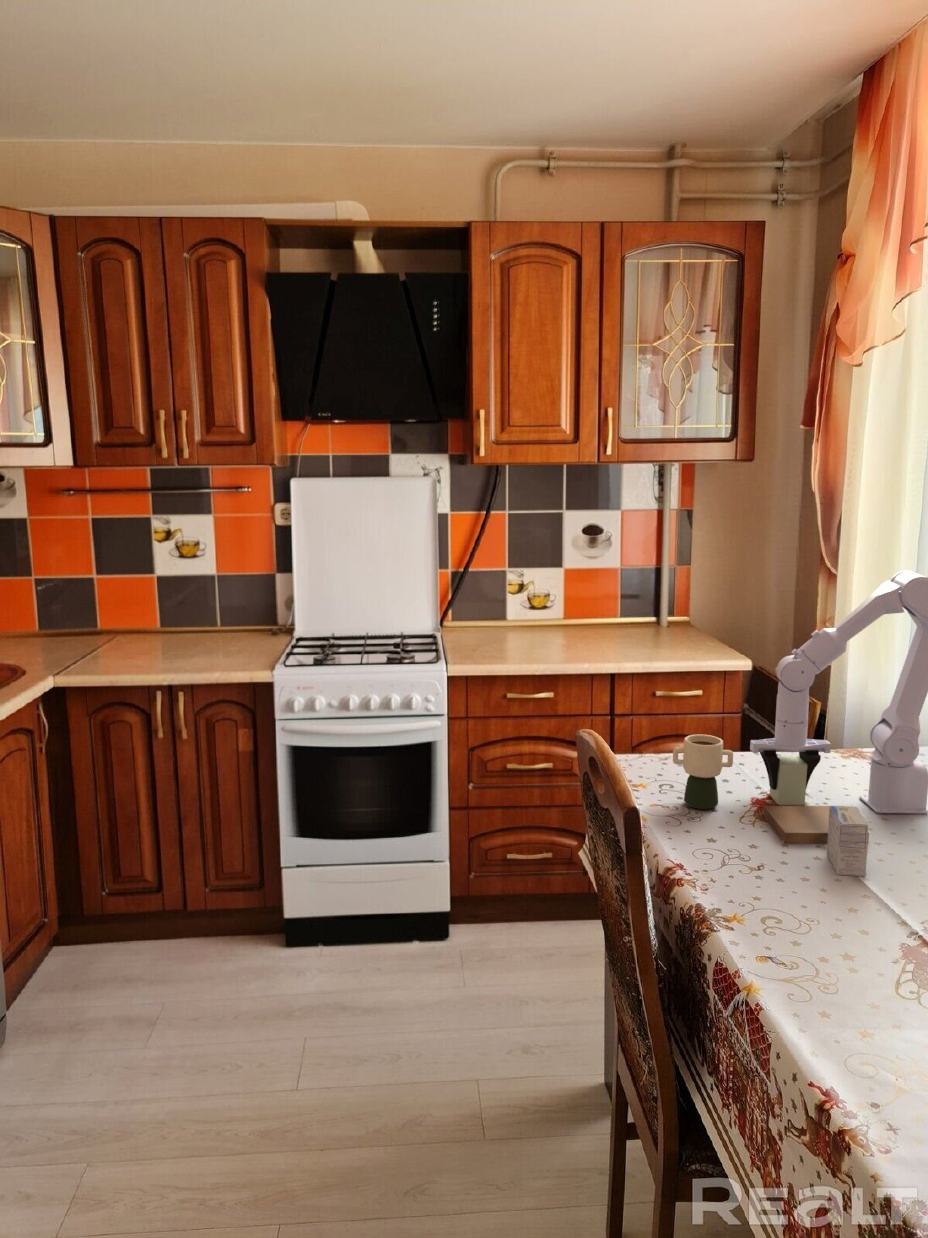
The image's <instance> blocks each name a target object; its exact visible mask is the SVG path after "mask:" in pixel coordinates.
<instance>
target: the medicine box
mask: <svg viewBox="0 0 928 1238" xmlns="http://www.w3.org/2000/svg"><path fill="white" fill-rule="evenodd" d="M829 806H830V810H829V825H828V841H827V844H826V855H828V858H829V861H830V863H831V864H832V867H833V869H834V871H835V873H836V875H841V876H850V877H851V876H853V877H866V876H867V861H868V845H869V840H868V833H869V825H868V823H867V821H866V819H865V818H864V816H863V814H862V813H861V812H860V809H859V808H858V807H857V806H851V805H850V806H848V805H829Z"/></svg>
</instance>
